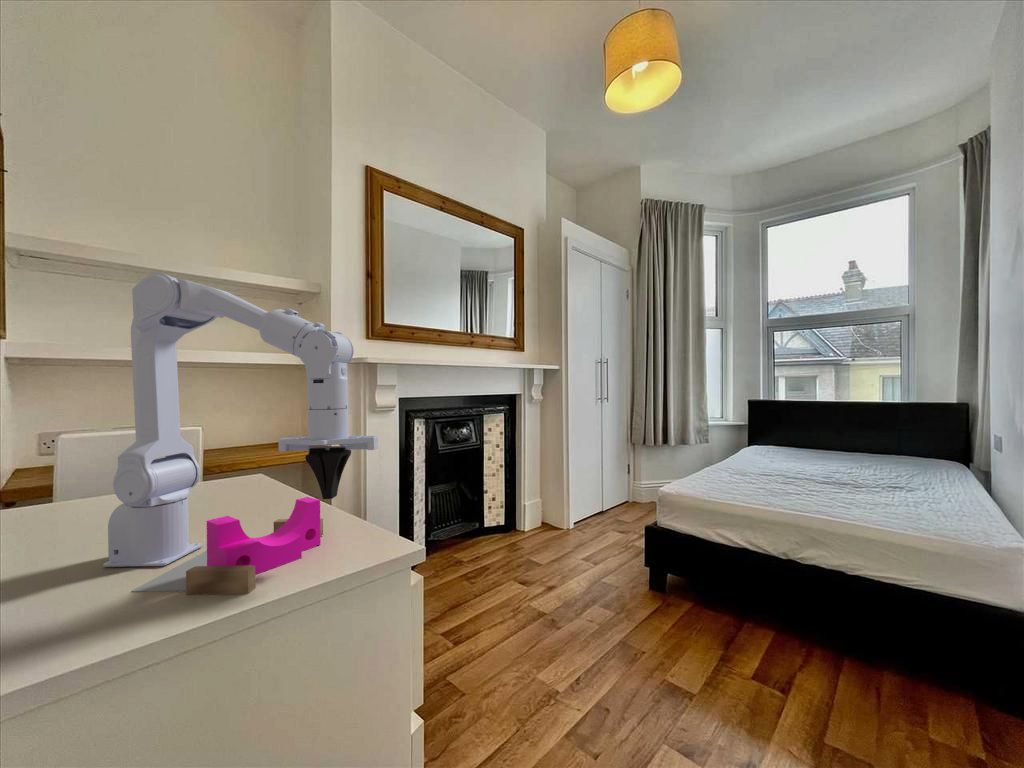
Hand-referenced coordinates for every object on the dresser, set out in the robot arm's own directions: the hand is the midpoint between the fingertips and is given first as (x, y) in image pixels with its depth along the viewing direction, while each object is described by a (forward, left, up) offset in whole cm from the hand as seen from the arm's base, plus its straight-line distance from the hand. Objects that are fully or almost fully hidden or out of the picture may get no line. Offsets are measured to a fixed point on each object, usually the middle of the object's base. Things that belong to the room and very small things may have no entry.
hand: (329, 497), depth 65 cm
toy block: (-9, 0, -10) cm, 13 cm away
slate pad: (-18, 0, -9) cm, 20 cm away
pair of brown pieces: (-10, 0, -9) cm, 14 cm away
